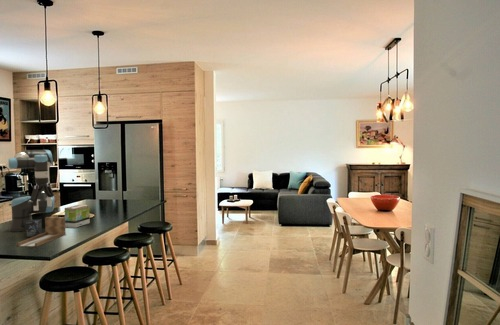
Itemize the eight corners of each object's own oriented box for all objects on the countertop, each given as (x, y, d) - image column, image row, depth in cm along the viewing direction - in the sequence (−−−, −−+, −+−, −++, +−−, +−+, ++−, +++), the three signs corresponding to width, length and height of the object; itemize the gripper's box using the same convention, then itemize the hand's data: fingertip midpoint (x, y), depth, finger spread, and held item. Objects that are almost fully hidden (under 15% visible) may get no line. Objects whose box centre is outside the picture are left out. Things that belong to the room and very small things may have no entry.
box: (25, 237, 212) (25, 221, 211) (29, 235, 218) (29, 219, 217) (39, 236, 214) (38, 220, 213) (42, 234, 219) (41, 219, 219)
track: (17, 246, 193) (16, 226, 193) (47, 234, 219) (46, 216, 218) (37, 246, 192) (36, 226, 192) (65, 234, 218) (64, 217, 217)
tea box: (76, 228, 235) (75, 208, 234) (64, 227, 237) (63, 207, 236) (90, 223, 250) (89, 204, 249) (79, 222, 252) (78, 204, 251)
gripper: (34, 179, 205) (35, 212, 206) (58, 175, 230) (59, 204, 231) (22, 179, 205) (24, 212, 206) (48, 175, 230) (49, 204, 231)
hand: (43, 208), depth 219 cm, fingers open, 13 cm apart
